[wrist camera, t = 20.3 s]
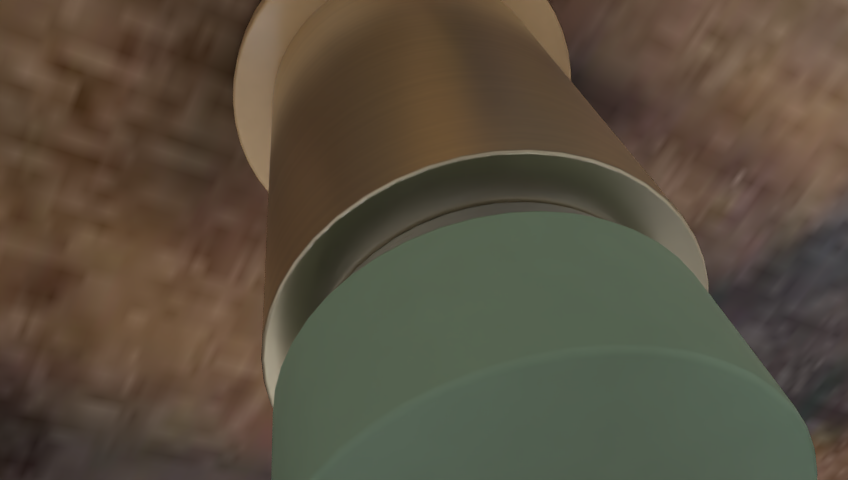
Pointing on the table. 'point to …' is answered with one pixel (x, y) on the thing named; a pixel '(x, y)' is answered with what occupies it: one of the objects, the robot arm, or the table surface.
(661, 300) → the lid
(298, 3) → the coaster
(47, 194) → the table surface
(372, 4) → the gold metal canister
